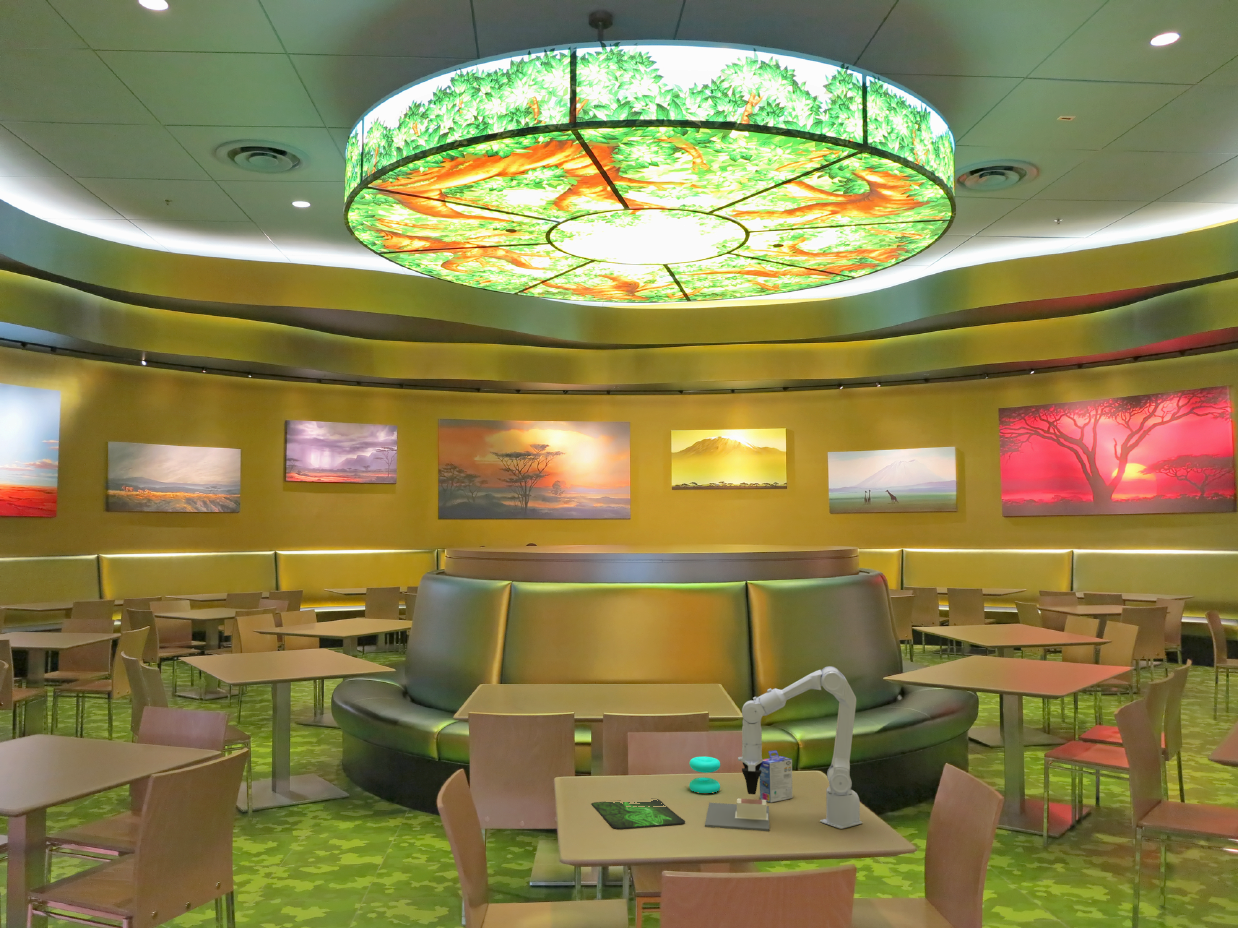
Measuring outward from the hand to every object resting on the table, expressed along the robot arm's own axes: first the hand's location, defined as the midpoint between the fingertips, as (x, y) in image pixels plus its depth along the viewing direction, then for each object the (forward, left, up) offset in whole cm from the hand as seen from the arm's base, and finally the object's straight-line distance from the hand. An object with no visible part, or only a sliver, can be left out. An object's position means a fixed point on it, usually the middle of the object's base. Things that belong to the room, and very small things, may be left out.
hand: (751, 790), depth 268 cm
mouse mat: (+25, -22, -9) cm, 35 cm away
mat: (+3, -3, -8) cm, 9 cm away
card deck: (0, 0, -7) cm, 7 cm away
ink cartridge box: (-21, -10, -8) cm, 24 cm away
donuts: (-8, -29, -8) cm, 31 cm away
